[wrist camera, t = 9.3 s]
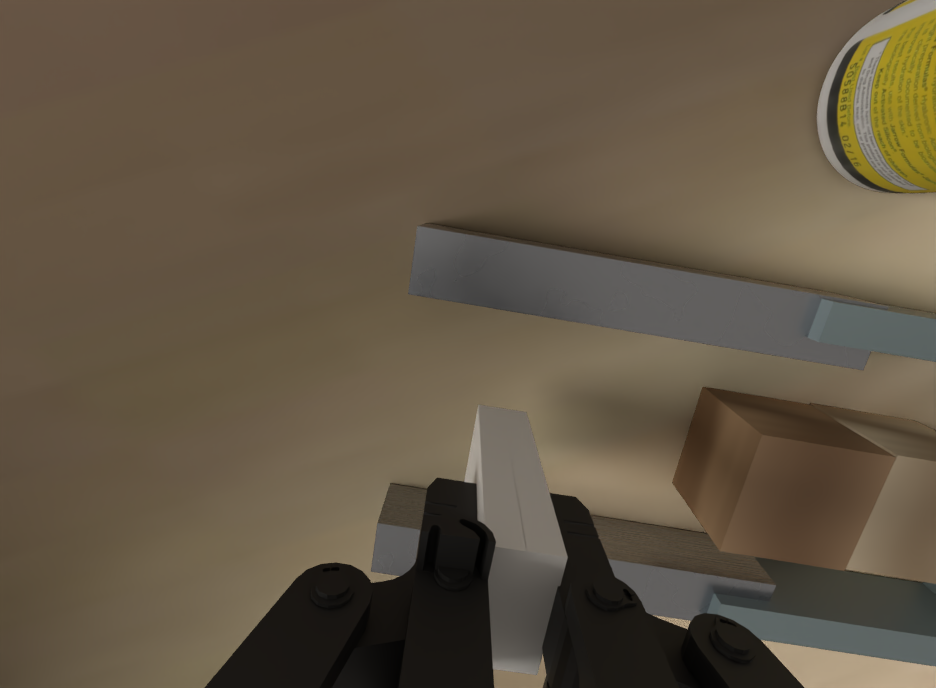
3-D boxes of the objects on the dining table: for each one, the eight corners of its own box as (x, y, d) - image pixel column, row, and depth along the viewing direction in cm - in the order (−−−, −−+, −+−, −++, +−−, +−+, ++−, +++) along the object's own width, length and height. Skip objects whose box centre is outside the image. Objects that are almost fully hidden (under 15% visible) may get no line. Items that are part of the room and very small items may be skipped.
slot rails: (384, 526, 20) (371, 571, 17) (426, 223, 17) (417, 225, 14) (724, 580, 20) (757, 630, 18) (830, 291, 17) (888, 306, 15)
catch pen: (677, 570, 20) (710, 632, 17) (773, 285, 17) (833, 301, 14) (938, 611, 20) (1014, 678, 17) (1080, 337, 17) (1202, 365, 14)
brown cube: (671, 481, 19) (719, 551, 15) (701, 385, 18) (761, 434, 14) (771, 497, 19) (844, 571, 15) (807, 403, 18) (896, 456, 14)
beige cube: (772, 496, 19) (845, 569, 15) (808, 402, 18) (897, 455, 14) (871, 512, 19) (969, 589, 15) (913, 419, 18) (1030, 477, 14)
